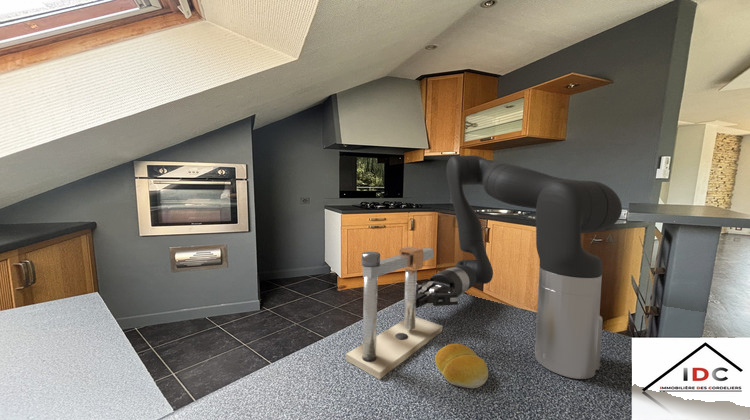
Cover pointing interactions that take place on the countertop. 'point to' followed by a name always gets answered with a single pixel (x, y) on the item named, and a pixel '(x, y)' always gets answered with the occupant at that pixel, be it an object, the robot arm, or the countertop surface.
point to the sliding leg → (411, 285)
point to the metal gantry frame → (370, 273)
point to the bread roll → (461, 366)
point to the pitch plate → (394, 347)
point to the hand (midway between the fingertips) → (413, 303)
